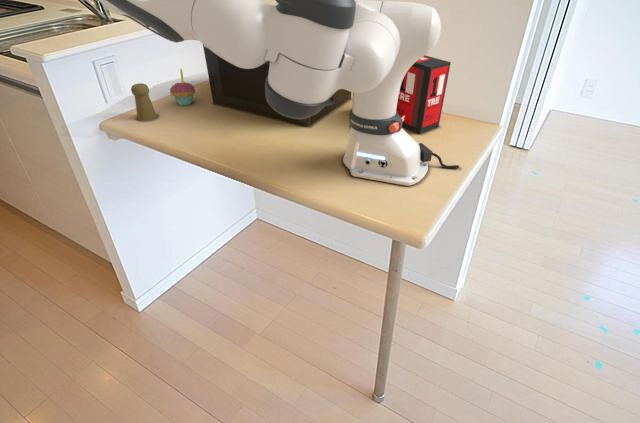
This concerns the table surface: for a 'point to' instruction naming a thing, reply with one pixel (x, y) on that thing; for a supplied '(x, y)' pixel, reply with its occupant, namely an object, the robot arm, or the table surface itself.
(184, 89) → the cupcake
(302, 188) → the table surface
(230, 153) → the table surface
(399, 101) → the cleaning product box
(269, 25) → the robot arm
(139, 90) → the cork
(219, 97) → the oven door
